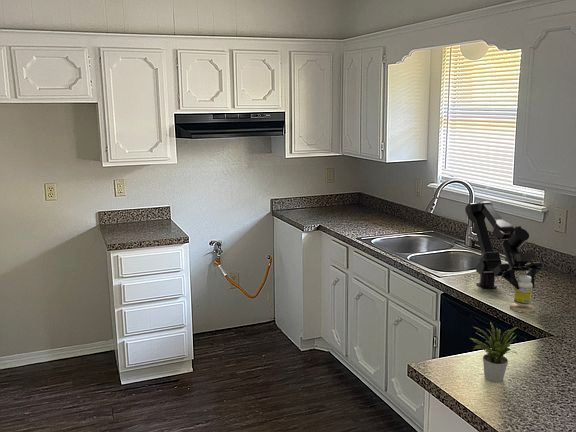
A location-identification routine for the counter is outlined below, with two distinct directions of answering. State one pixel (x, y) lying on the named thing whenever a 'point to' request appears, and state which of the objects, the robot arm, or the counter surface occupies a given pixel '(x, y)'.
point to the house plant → (495, 354)
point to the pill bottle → (523, 291)
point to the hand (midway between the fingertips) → (525, 288)
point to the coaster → (522, 308)
